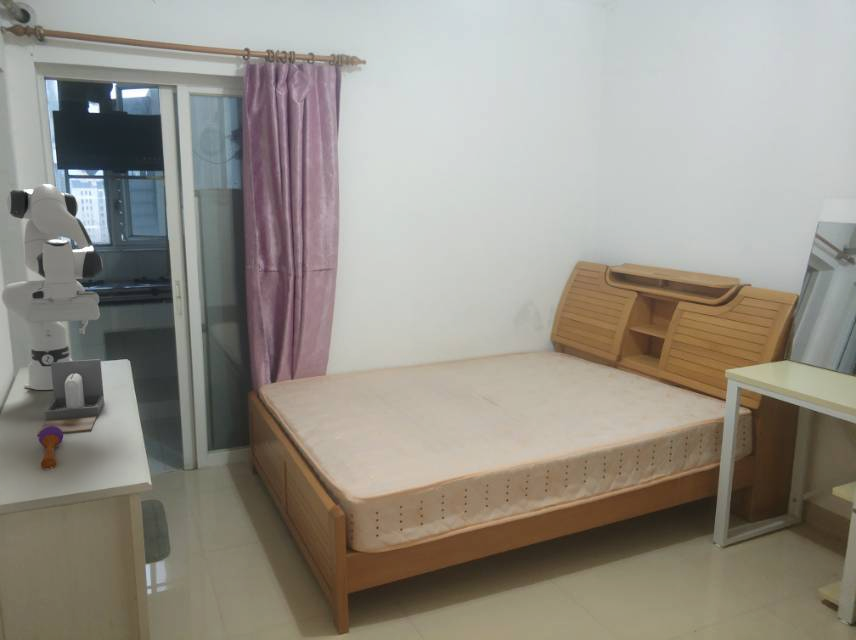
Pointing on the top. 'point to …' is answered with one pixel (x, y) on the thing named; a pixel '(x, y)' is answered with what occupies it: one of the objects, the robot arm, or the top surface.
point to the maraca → (50, 444)
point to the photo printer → (74, 391)
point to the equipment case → (91, 388)
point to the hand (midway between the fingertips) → (65, 335)
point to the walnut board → (71, 424)
